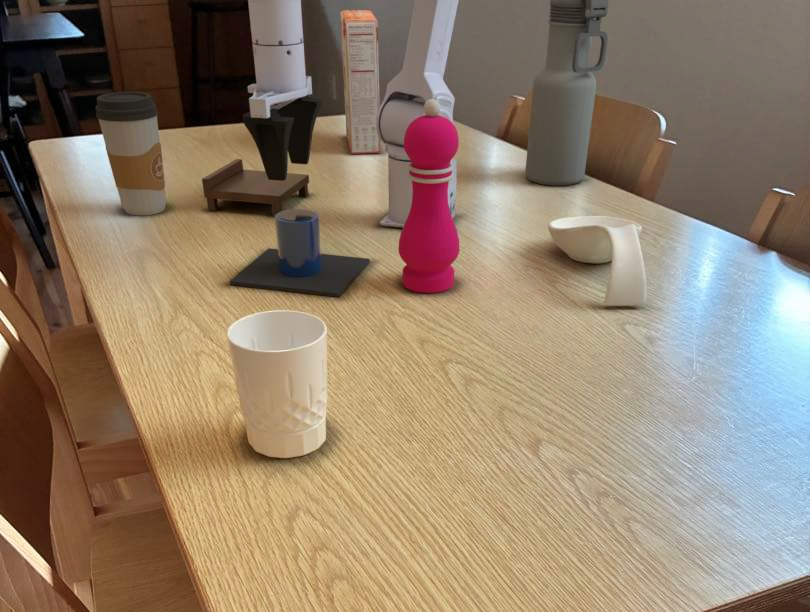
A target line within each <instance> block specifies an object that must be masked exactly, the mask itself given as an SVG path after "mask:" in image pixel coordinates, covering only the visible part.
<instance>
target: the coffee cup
mask: <svg viewBox="0 0 810 612" xmlns="http://www.w3.org/2000/svg"><path fill="white" fill-rule="evenodd" d="M95 111H96V118H97V119H98V122H99V126H100V131H101V132H102V133H101V134H102V137H103V141H104V145H105V151H106V154H107V159H108V161H109V165H110V170H111V172H112V173H111V174H112V176H113V180H114V184H115V187H116V188H117V189H116V190H117V193H118V196H119V199H120V203H121V207H122V209H124V211H125V213H126V214H128V215H133V216H151V215H156V214H159V213H160V214H161V213H162V212H164V211H165V210H166V206H167V197H166V196H167V194H166V181H165V171H164V163H163V154H162V153H163V151H162V144H161V142H160V132H159V131H160V130H159V122H158V115H159V112H158V109H157V104H156V103H155V102H154V101H153V98H152V95H151V94H150V93H147V92H143V91H142V92H140V91H120V92H119V91H118V92H109V93H105V94H101V95H98V96H97V97H96V105H95Z"/></svg>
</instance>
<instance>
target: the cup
mask: <svg viewBox="0 0 810 612" xmlns="http://www.w3.org/2000/svg"><path fill="white" fill-rule="evenodd" d="M274 223H275V224H274V225H275V235H276V244H277V249H278V257H279V267H280V272H281V273H282V274H284V275H287V276H291V277H307V276H312V275H315V274H317V273H319V272H320V271H321V270H322V264H321V254H322V249H321V233H320V217H319V213H317V212H316V211H314V210H310V209H306V208H305V209H303V208H295V209H294V208H293V209H286V210H283V211H282V212H279V213H277V214H276V215H275V216H274Z"/></svg>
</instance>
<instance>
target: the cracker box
mask: <svg viewBox="0 0 810 612" xmlns="http://www.w3.org/2000/svg"><path fill="white" fill-rule="evenodd" d="M339 13H340V35H341V37H340V38H341V53H342V54H341V55H342V56H341V57H342V73H343V74H342V75H343V94H344V112H345V113H344V114H345V133H346V138H347V143H348V147H349V152H350V155H363V154H381V148H382V147H381V140H380V138H379V136H378V134H377V130H376V117H377V113H378V110H379V107H380V72H379V71H380V70H379V25H378V19H377V18H376V16H375V15H374V14H373V12H372V10H368V9H362V10H359V9H344V10H340V12H339Z"/></svg>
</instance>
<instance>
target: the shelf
mask: <svg viewBox="0 0 810 612" xmlns="http://www.w3.org/2000/svg"><path fill="white" fill-rule="evenodd" d="M243 164H244V163H243V159H242V158H236V159H234V160H232V161H231V162H229V163H227V164H225V165H224V166H222V167H220V168H218V169H217V170H215V171H213V172H211V173H210V174H207V175H206V176H204V177H203V178H202V179H201V182H202V189H203V196H204V199H206V204H207V210H208V211H212V212H216V211H218V210H219V209H220V208H219V200H224V201H232V202H233V201H235V202H246V203H247V202H248V203H257V204H268V205H271V211H272V217H275V215H276V214H277V213H279V212H282V211H284V209H283V208H284V206H283V203H284V202H286V201H287V200H288V199H290V198H292V196H293V195H295V194H296V193H297V192H298V197H299V198H300V197H301V198H306V197H308V196H309V186H308V185H309V183H310V176H309V174H303V173H292V172H287V177H286V180H284V181H278V180H269V179H268V177H267V174H266V171H265V170H254V169H244V165H243Z"/></svg>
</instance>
